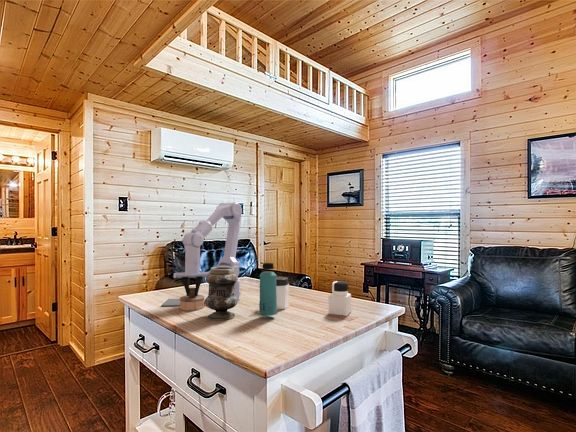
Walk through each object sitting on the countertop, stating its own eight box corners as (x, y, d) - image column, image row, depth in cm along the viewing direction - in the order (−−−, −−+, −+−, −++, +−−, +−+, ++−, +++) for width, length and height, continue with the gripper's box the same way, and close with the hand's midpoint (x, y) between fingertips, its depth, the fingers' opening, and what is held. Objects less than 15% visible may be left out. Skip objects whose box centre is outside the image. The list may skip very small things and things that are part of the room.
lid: (205, 296, 139) (206, 285, 139) (202, 301, 130) (202, 290, 130) (182, 296, 138) (182, 286, 138) (177, 302, 129) (177, 290, 129)
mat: (195, 299, 149) (195, 298, 149) (190, 306, 137) (190, 304, 137) (168, 300, 147) (168, 298, 148) (161, 306, 136) (161, 305, 136)
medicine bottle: (351, 311, 129) (351, 280, 129) (346, 316, 123) (346, 283, 123) (333, 309, 132) (333, 279, 132) (328, 314, 126) (328, 282, 126)
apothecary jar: (244, 315, 124) (244, 266, 124) (223, 323, 113) (223, 270, 114) (219, 310, 130) (220, 264, 130) (197, 318, 119) (197, 268, 120)
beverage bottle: (279, 316, 122) (279, 262, 123) (272, 321, 116) (273, 264, 117) (263, 314, 125) (263, 261, 125) (256, 319, 118) (256, 263, 119)
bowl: (205, 304, 139) (205, 296, 139) (202, 310, 130) (202, 301, 130) (182, 305, 138) (182, 296, 138) (177, 311, 129) (178, 302, 129)
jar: (293, 307, 135) (293, 278, 135) (277, 310, 130) (277, 280, 130) (279, 303, 142) (279, 275, 142) (264, 306, 137) (264, 277, 137)
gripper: (171, 263, 130) (171, 298, 129) (209, 262, 131) (209, 297, 131) (176, 261, 137) (175, 294, 136) (211, 261, 138) (211, 293, 138)
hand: (192, 295), depth 134 cm, fingers closed on lid, 3 cm apart
